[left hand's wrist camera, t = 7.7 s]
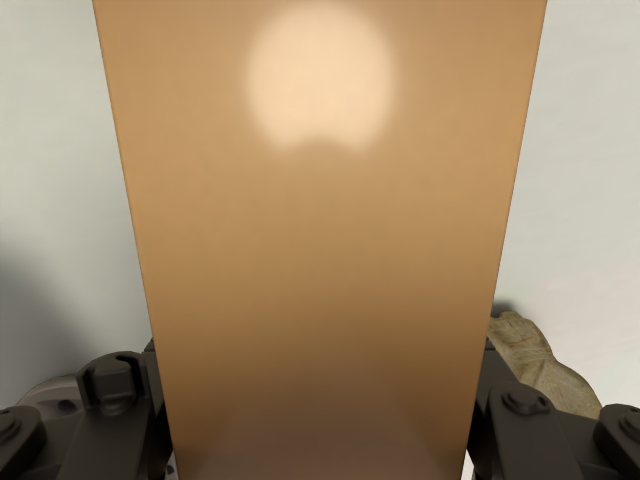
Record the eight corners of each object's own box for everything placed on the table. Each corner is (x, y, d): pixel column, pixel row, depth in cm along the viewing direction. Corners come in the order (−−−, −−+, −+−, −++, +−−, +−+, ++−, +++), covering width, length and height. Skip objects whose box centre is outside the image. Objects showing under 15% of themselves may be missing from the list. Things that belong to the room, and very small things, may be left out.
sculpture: (451, 379, 31) (558, 608, 17) (455, 303, 29) (583, 497, 15) (523, 374, 31) (689, 602, 17) (533, 297, 29) (737, 489, 15)
